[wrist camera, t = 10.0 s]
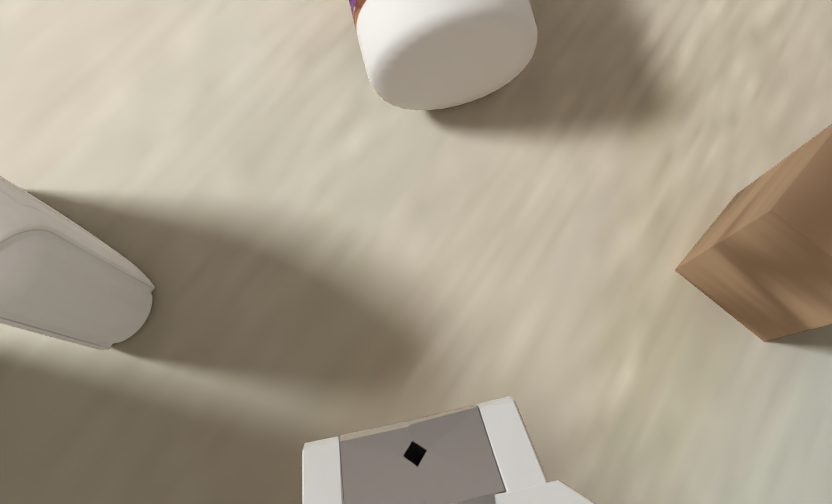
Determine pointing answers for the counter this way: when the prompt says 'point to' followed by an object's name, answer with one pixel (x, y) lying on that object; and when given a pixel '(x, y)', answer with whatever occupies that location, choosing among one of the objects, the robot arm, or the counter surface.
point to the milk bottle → (443, 48)
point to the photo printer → (65, 277)
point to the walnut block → (773, 247)
